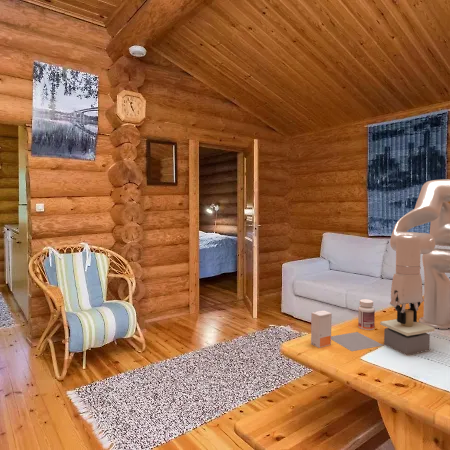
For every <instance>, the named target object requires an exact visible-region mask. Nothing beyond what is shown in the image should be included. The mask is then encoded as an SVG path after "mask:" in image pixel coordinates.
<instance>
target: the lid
mask: <svg viewBox="0 0 450 450" xmlns="http://www.w3.org/2000/svg"><path fill="white" fill-rule="evenodd" d="M409 309H410V308H408V309H407V308H405V311H404V312H405V313H406V323H405V324H402V323H399V322H397V318H396V319H390V320H382V321H380V324H379V325H381V326H383V327H386V328H390V329H392V330H394V331H397V332H399V333H401V334H404V335H406V336H411V335H416V334H422V333H427V334H428V333H431V332H436V328H433V327H430V326H427V325H425V324H422V323H420V322H419V321H417V322H413V314H414V311H412V310H409Z"/></svg>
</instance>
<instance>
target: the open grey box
mask: <svg viewBox="0 0 450 450" xmlns="http://www.w3.org/2000/svg"><path fill="white" fill-rule="evenodd" d="M383 332H384V334H383V337H384V338H383V345H384V346H385V345H386V346H388V347H390V348H391V349H394V350H395V351H398V352H400V353H402V354H404V355H406V356H408V355H409V356H410V355H414V354H418V353H417V352H419V353H422V352H421V351H424V352H426V351H425V350H429V351H430V342H431V341H430V338H431V337H430V336H431V335H430V334H429V333H428V332H427V333H422V334H416V335H411V336H406V335H404V334H401V333H399V332H397V331H394V330H392V329H390V328H387V327H386V328H384V330H383Z"/></svg>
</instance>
